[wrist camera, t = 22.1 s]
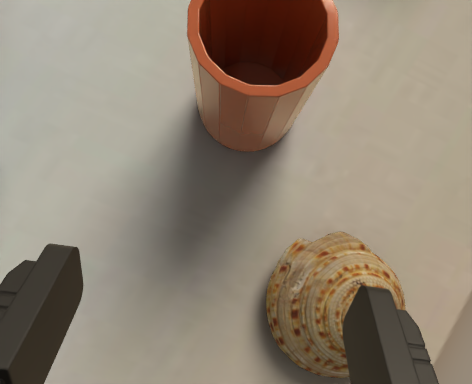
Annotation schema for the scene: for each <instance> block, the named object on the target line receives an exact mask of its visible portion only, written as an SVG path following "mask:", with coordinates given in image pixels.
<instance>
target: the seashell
mask: <svg viewBox="0 0 472 384" xmlns="http://www.w3.org/2000/svg"><path fill="white" fill-rule="evenodd" d="M272 274H273V275H272V276H271V280H270V282H269V284H268V289H267V296H266V310H267V318H268V322H269V326H270V328H271V331H272V335H273V337H274V339H275V341H276V342H277V344H278V346H279V347H280V349H281V350H282V351H283V352H284V353H285V354H286V355H287V356H288V357H289V358H290V359H291V360H292V361H293V362H294V363H296V364H297V365H298V366H300V367H301V368H303V369H305V370H307V371H310V372H312V373H315V374H317V375H322V376H327V377H337V378H344V377H350V376H349V370H348V364H347V359H346V353H345V348H344V342H343V333H342V330H343V321H344V318H345V315H346V313H347V311H348V309H349V307H350V305H351V303H352V301H353V299H354V297H355V295H356V293H357V291H358V289H359V287H360V286H362V285H364V286H371V287H378V288H386V289H389V290H390V291H391V293H392V296H393V299H394V302H395V305H396V308H397V309H399V310H405V300H404V294H403V291H402V288H401V285H400V282H399V280H398V278H397V277H396V275H395V273H394V272H393V271H392V270H391V268H390V267H389V266H388V265H387V264H386V263H385V262H384V261H383V260H381V259H380V258H379V257H378V256H376V255H375V254H373V253H372V252H371V250H370V249H369V248H368V246H367V245H365V244H363V243H362V242H361V241H360V240H358V239H356V238H354V237H352V236H350V235H349V234H346V233H344V232H336V233H333V234H328V235H327V236H325V237H323V238H321V239H319V240H316V241H314V242H310V241H307V240H304V239H301V238H300V239H298V240H297V241H296V242H295V243H293V244H292V245H291V246H290V247H289V248H287V249H286V251H285V252H284V255H283V256H282V257H281V258H280V259H279V261H278V263H277V266H276V269H275V271H274V272H273V273H272Z"/></svg>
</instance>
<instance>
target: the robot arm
mask: <svg viewBox="0 0 472 384" xmlns="http://www.w3.org/2000/svg"><path fill="white" fill-rule="evenodd" d="M82 292H83V277H82V269H81V261H80V254H79V249H78V248H77V247H72V246H64V245H57V244H48V245H47V246H46V247H45V248H44V250H43V251H42V253H41V255H40V256H39V258H38V260H37V261H29V260H25V261H23V262H22V263H21V264H19V265H18V266H17V267H15V268H14V269H13V270H12V271H10V272H9V273H8V274H7V275H6V277H5V278H4V280H3V281H2V283H1V284H0V384H44V382H45V380H46V378H47V375H48V373H49V371H50V369H51V366H52V364H53V362H54V360H55V357H56V355H57V353H58V351H59V348H60V346H61V344H62V342H63V339H64V337H65V335H66V333H67V331H68V328H69V326H70V324H71V322H72V319H73V317H74V315H75V313H76V310H77V308H78V306H79V303H80V301H81V297H82ZM342 333H343V342H344V348H345V353H346V359H347V364H348V370H349V376H350V381H351V384H439V383H438V380H437V377H436V374H435V371H434V369H433V366H432V364H430V361H431V360H430V357H429V355H428V352H427V349H425V343H424V341H423V338H422V335H421V332H420V329H419V327H418V326H417V324H416V323H415V322H414V320H413V319H412V318H411V316H410V315H409V314H408V313H407V311H406V310H399V309H397V308H396V305H395V302H394V299H393V296H392V293H391V291H390V290H389V289H386V288H378V287H371V286H364V285H362V286H360V287H359V289H358V291H357V293H356V295H355V297H354V299H353V301H352V303H351V305H350V307H349V309H348V311H347V313H346V315H345V318H344V321H343V330H342Z"/></svg>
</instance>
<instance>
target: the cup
mask: <svg viewBox="0 0 472 384" xmlns="http://www.w3.org/2000/svg"><path fill="white" fill-rule="evenodd" d="M187 37H188V44H189V50H190V57H191V64H192V71H193V78H194V84H195V91H196V98H197V105H198V111H199V113H200V117H201V120H202V122H203V124H204V126H205V128H206V130H207V131H208V133H209V134H210V135H211V136H212V137H213V138H214V139H215V140H216V141H218V142H219V143H220V144H222V145H224V146H226V147H228V148H230V149H233V150H237V151H245V152H251V151H258V150H262V149H265V148H267V147H270V146H272V145H273V144H275V143H276V142H278V141H279V140H280V139H281V138H282V137H283V136H284V135H285V134H286V132H287V131H288V130H289V129H290V128H291V126H292V124H293V123H294V121H295V119H296V118H297V116H298V114H299V113H300V111H301V110H302V108H303V106H304V105H305V103H306V101H307V100H308V98H309V97H310V95H311V93H312V92H313V90H314V88H315V87H316V85H317V84H318V82H319V80H320V79H321V77H322V75H323V74H324V72H325V70H326V69H327V67H328V66H329V63H330V61H331V58H332V56H333V54H334V51H335V49H336V46H337V44H338V40H339V29H338V11H337V9H336V7H335V5H334V2H333V0H191V2H190V4H189V6H188V22H187Z"/></svg>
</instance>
